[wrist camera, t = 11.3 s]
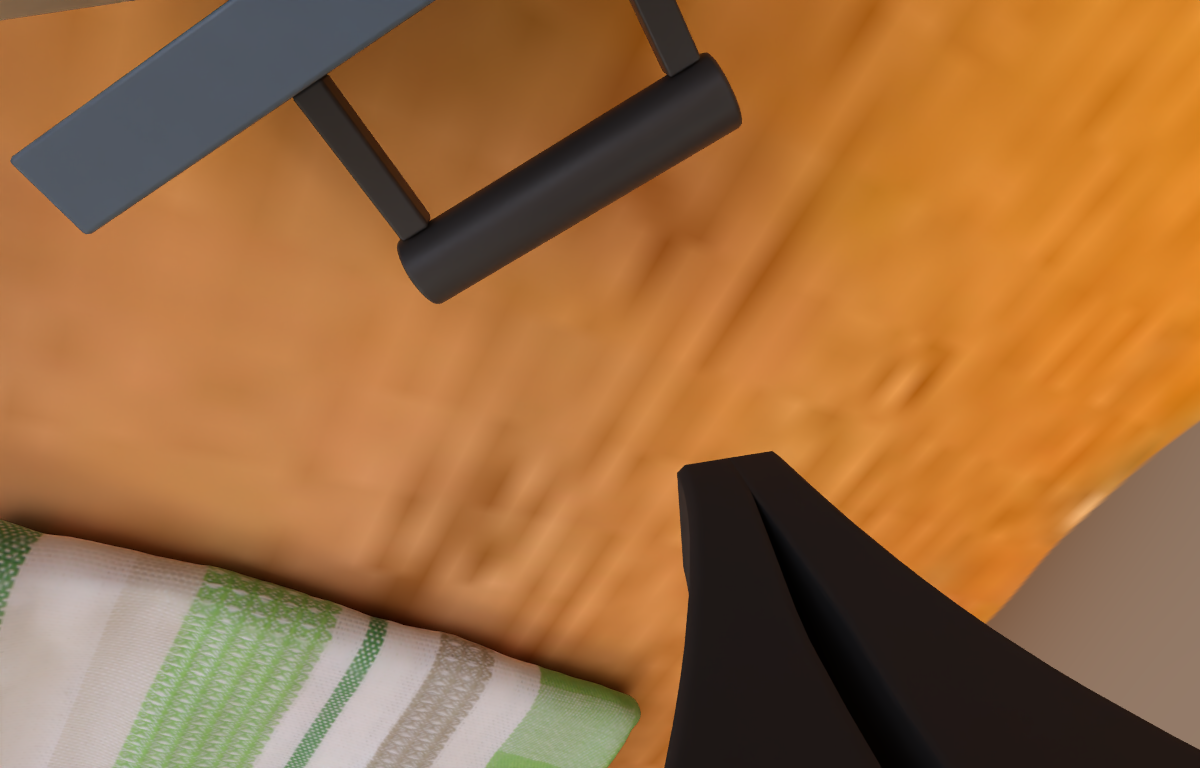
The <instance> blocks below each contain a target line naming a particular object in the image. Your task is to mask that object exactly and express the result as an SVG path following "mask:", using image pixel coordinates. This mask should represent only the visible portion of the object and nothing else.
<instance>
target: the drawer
mask: <svg viewBox="0 0 1200 768" xmlns="http://www.w3.org/2000/svg"><path fill="white" fill-rule="evenodd" d="M127 1H134V0H0V20H7V19H13V18H20V17H27V16H33V15H40V14H47V13H53V12H60V11H67V10H73V9H80V8H87V7H94V6H100V5H107V4H114V3H120V2H127ZM434 1H435V0H229V1H227V2H226V3H225V4H223V5H222V6H220V7H219V8H218V9H216V10H215V11H213V12H212V13H211V14H209V15H208V16H207V17H205V18H204V19H202V20H201V21H200V22H198V23H197V24H195V25H194V26H193V27H191V28H190V29H188V30H187V31H186V32H184V33H183V34H182V35H180V36H179V37H177V38H176V39H175V40H173V41H172V42H170V43H169V44H168V45H166V46H165V47H163V48H162V49H161V50H159V51H158V52H157V53H155V54H154V55H152V56H151V57H150V58H148V59H147V60H145V61H144V62H143V63H141V64H140V65H138V66H137V67H136V68H134V69H133V70H132V71H130V72H129V73H127V74H126V75H125V76H123V77H122V78H120V79H119V80H118V81H116V82H115V83H114V84H112V85H111V86H109V87H108V88H107V89H105V90H104V91H102V92H101V93H100V94H98V95H97V96H95V97H94V98H93V99H91V100H90V101H89V102H87V103H86V104H84V105H83V106H82V107H80V108H79V109H77V110H76V111H75V112H73V113H72V114H70V115H69V116H68V117H66V118H65V119H64V120H62V121H61V122H59V123H58V124H57V125H55V126H54V127H52V128H51V129H50V130H48V131H47V132H46V133H44V134H43V135H41V136H40V137H39V138H37V139H36V140H34V141H33V142H32V143H30V144H29V145H27V146H26V147H25V148H23V149H22V150H21V151H19V152H18V153H16V154H15V155H14V156H12V158H11V160H10V161H11V163H12V164H13V165H14V166H15V167H16V168H17V169H18V170H19V171H20V172H21V173H22V174H23V175H24V176H25V177H26V178H27V179H28V180H29V181H30V182H31V183H32V184H33V185H34V186H35V187H36V188H37V189H38V190H39V191H41V192H42V193H43V194H44V195H45V196H46V197H47V198H48V199H49V200H50V201H51V202H52V203H53V204H54V205H55V206H56V207H57V208H58V209H59V210H60V211H61V212H62V213H63V214H64V215H65V216H66V217H67V218H68V219H70V220H71V221H72V222H73V223H74V224H75V225H76V226H77V227H78V228H79V229H80V230H81V231H82V232H83V233H85V234H91V233H93V232H95V231H96V230H97V229H99V228H100V227H102V226H103V225H105V224H106V223H108V222H109V221H111V220H112V219H114V218H115V217H117V216H118V215H120V214H121V213H123V212H124V211H126V210H127V209H128V208H130V207H131V206H133V205H134V204H136V203H137V202H139V201H140V200H142V199H143V198H145V197H146V196H148V195H149V194H151V193H152V192H154V191H155V190H156V189H158V188H159V187H161V186H162V185H164V184H165V183H167V182H168V181H170V180H171V179H173V178H174V177H176V176H177V175H179V174H180V173H182V172H183V171H184V170H186V169H187V168H189V167H190V166H192V165H193V164H195V163H196V162H198V161H199V160H201V159H202V158H204V157H205V156H207V155H208V154H210V153H211V152H212V151H214V150H215V149H217V148H218V147H220V146H221V145H223V144H224V143H226V142H227V141H229V140H230V139H232V138H233V137H235V136H236V135H238V134H239V133H240V132H242V131H243V130H245V129H246V128H248V127H249V126H251V125H252V124H254V123H255V122H257V121H258V120H260V119H261V118H263V117H264V116H266V115H267V114H268V113H270V112H271V111H273V110H274V109H276V108H277V107H279V106H280V105H282V104H283V103H285V102H286V101H288V100H289V99H291V98H292V97H293V99H294V101H295V102H296V104H297V105H298V106H299V108H300V109H301V110H302V112H303V113H304V114H305V115H306V117H307V118H308V119H309V121H310V122H311V123H312V125H313V126H314V127H315V128H316V130H317V131H318V132H319V134H320V135H321V136H322V138H323V139H324V140H325V141H326V143H327V144H328V145H329V147H330V148H331V149H332V151H333V152H334V153H335V154H336V156H337V157H338V158H339V160H340V161H341V162H342V164H343V165H344V166H345V167H346V169H347V170H348V171H349V173H350V174H351V175H352V177H353V178H354V179H355V181H356V182H357V183H358V184H359V186H360V187H361V188H362V190H363V191H364V192H365V194H366V195H367V196H368V197H369V199H370V200H371V201H372V203H373V204H374V205H375V207H376V208H377V209H378V210H379V212H380V213H381V214H382V216H383V217H384V218H385V220H386V221H387V222H388V223H389V225H390V226H391V227H392V229H393V230H394V231H395V233H396V234H397V235H398V236H399V238H400V241H399V242H398V244H397V251H398V255H399V258H400V260H401V263H402V265H403V267H404V269H405V271H406V273H407V275H408V276H409V278H410V279H411V281H412V282H413V284H414V285H415V286H416V288H417V289H418V290H419V291H420V292H421V293H422V294H423V295H424V296H425V297H426V298H427V299H428V300H430V301H431V302H433V303H435V304H440V303H443V302H445V301H447V300H448V299H450V298H452V297H453V296H455V295H457V294H458V293H460V292H462V291H463V290H465V289H467V288H469V287H470V286H472V285H474V284H475V283H477V282H479V281H480V280H482V279H484V278H485V277H487V276H489V275H491V274H492V273H494V272H496V271H497V270H499V269H501V268H502V267H504V266H506V265H507V264H509V263H511V262H513V261H514V260H516V259H518V258H519V257H521V256H523V255H524V254H526V253H528V252H529V251H531V250H533V249H534V248H536V247H538V246H540V245H541V244H543V243H545V242H546V241H548V240H550V239H551V238H553V237H555V236H556V235H558V234H560V233H562V232H563V231H565V230H567V229H568V228H570V227H572V226H573V225H575V224H577V223H578V222H580V221H582V220H583V219H585V218H587V217H589V216H590V215H592V214H594V213H595V212H597V211H599V210H600V209H602V208H604V207H605V206H607V205H609V204H611V203H612V202H614V201H616V200H617V199H619V198H621V197H622V196H624V195H626V194H627V193H629V192H631V191H633V190H634V189H636V188H638V187H639V186H641V185H643V184H644V183H646V182H648V181H649V180H651V179H653V178H654V177H656V176H658V175H660V174H661V173H663V172H665V171H666V170H668V169H670V168H671V167H673V166H675V165H676V164H678V163H680V162H682V161H683V160H685V159H687V158H688V157H690V156H692V155H693V154H695V153H697V152H698V151H700V150H702V149H704V148H705V147H707V146H709V145H710V144H712V143H714V142H715V141H717V140H719V139H720V138H722V137H724V136H725V135H727V134H729V133H731V132H732V131H734V130H736V129H737V128H739V127H740V125H741V124H742V117H741V112H740V108H739V105H738V102H737V100H736V97H735V95H734V92H733V90H732V88H731V86H730V84H729V82H728V80H727V78H726V76H725V74H724V73H723V71H722V69H721V68H720V66H719V65H718V63H717V62H716V60H715V59H714V58H713V57H712V56H711V55H710V54H709V53H707V52H706V53H702V54H700V55H699V52H698V50H697V48H696V46H695V43H694V41H693V39H692V37H691V34H690V32H689V30H688V27H687V25H686V23H685V21H684V18H683V16H682V14H681V12H680V9H679V7H678V5H677V3H676V0H629V1H630V3H631V5H632V7H633V9H634V11H635V13H636V16H637V18H638V20H639V22H640V24H641V26H642V28H643V30H644V32H645V35H646V37H647V39H648V41H649V43H650V45H651V47H652V49H653V51H654V54H655V56H656V58H657V60H658V62H659V64H660V66H661V68H662V70H663V72H664V73H666V74H667V75H666V76H664V77H663V78H661V79H659V80H658V81H656V82H655V83H653V84H651V85H650V86H648V87H646V88H645V89H643V90H642V91H640V92H638V93H637V94H635V95H633V96H632V97H630V98H629V99H627V100H625V101H624V102H622V103H620V104H619V105H617V106H616V107H614V108H612V109H611V110H609V111H608V112H606V113H604V114H603V115H601V116H599V117H598V118H596V119H595V120H593V121H591V122H590V123H588V124H586V125H585V126H583V127H582V128H580V129H578V130H577V131H575V132H573V133H572V134H570V135H569V136H567V137H565V138H564V139H562V140H561V141H559V142H557V143H556V144H554V145H552V146H551V147H549V148H548V149H546V150H544V151H543V152H541V153H539V154H538V155H536V156H535V157H533V158H531V159H530V160H528V161H526V162H525V163H523V164H522V165H520V166H518V167H517V168H515V169H513V170H512V171H510V172H509V173H507V174H505V175H504V176H502V177H501V178H499V179H497V180H496V181H494V182H492V183H491V184H489V185H488V186H486V187H484V188H483V189H481V190H479V191H478V192H476V193H475V194H473V195H471V196H470V197H468V198H466V199H465V200H463V201H462V202H460V203H458V204H457V205H455V206H454V207H452V208H450V209H449V210H447V211H445V212H444V213H442V214H441V215H439V216H437V217H436V218H434V219H432V220H431V221H430V214H429V212H428V211H427V210H426V208H425V207H424V206H423V204H422V203H421V201H420V200H419V199H418V197H417V196H416V195H415V193H414V192H413V190H412V189H411V188H410V186H409V185H408V184H407V182H406V181H405V179H404V178H403V177H402V175H401V174H400V173H399V171H398V170H397V168H396V167H395V166H394V164H393V163H392V162H391V160H390V159H389V157H388V156H387V155H386V153H385V152H384V151H383V149H382V148H381V146H380V145H379V144H378V142H377V141H376V140H375V138H374V137H373V135H372V134H371V133H370V131H369V130H368V129H367V127H366V126H365V124H364V123H363V122H362V120H361V119H360V118H359V116H358V115H357V113H356V112H355V111H354V109H353V108H352V107H351V105H350V104H349V102H348V101H347V100H346V98H345V97H344V96H343V94H342V93H341V91H340V90H339V89H338V87H337V86H336V85H335V83H334V82H333V80H332V79H331V78H330V76H328V75H327V73H329V72H330V71H332V70H333V69H335V68H336V67H338V66H339V65H341V64H342V63H344V62H345V61H347V60H348V59H350V58H351V57H352V56H354V55H355V54H357V53H358V52H360V51H361V50H363V49H364V48H366V47H367V46H369V45H370V44H372V43H373V42H375V41H376V40H378V39H379V38H380V37H382V36H383V35H385V34H386V33H388V32H389V31H391V30H392V29H394V28H395V27H397V26H398V25H400V24H401V23H403V22H404V21H406V20H407V19H409V18H410V17H411V16H413V15H414V14H416V13H417V12H419V11H420V10H422V9H423V8H425V7H426V6H428V5H429V4H431V3H432V2H434Z"/></svg>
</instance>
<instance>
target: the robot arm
mask: <svg viewBox="0 0 1200 768" xmlns="http://www.w3.org/2000/svg"><path fill="white" fill-rule="evenodd" d="M677 478H678V493H679V508H680V523H681V538H682V553H683V567H684V572H685V576H686V581H687V586H688V592H689V600H688V612H687V623H686V635H685V646H684V654H683V662H682V670H681V677H680V684H679V691H678V697H677V703H676V709H675V715H674V721H673V727H672V732H671V737H670V742H669V747H668V752H667V757H666V762H665V767H664V768H1200V750H1199V749H1197V748H1195V747H1193V746H1191V745H1189V744H1188V743H1186V742H1184V741H1182V740H1180V739H1178V738H1176V737H1174V736H1172V735H1171V734H1169V733H1167V732H1165V731H1163V730H1162V729H1160V728H1158V727H1156V726H1154V725H1153V724H1151V723H1149V722H1147V721H1145V720H1144V719H1141V718H1140V717H1138V716H1136V715H1135V714H1133V713H1131V712H1129V711H1127V710H1126V709H1124V708H1122V707H1120V706H1118V705H1117V704H1115V703H1113V702H1111V701H1109V700H1108V699H1106V698H1104V697H1102V696H1100V695H1099V694H1097V693H1095V692H1093V691H1091V690H1090V689H1088V688H1086V687H1084V686H1083V685H1081V684H1080V683H1078V682H1076V681H1074V680H1073V679H1071V678H1069V677H1068V676H1066V675H1064V674H1063V673H1061V672H1059V671H1058V670H1056V669H1054V668H1053V667H1051V666H1049V665H1048V664H1046V663H1045V662H1043V661H1041V660H1040V659H1039V658H1037V657H1035V656H1034V655H1032V654H1031V653H1029V652H1027V651H1026V650H1024V649H1023V648H1021V647H1020V646H1018V645H1017V644H1015V643H1013V642H1012V641H1010V640H1009V639H1007V638H1005V637H1004V636H1003V635H1001V634H1000V633H998V632H996V631H995V630H993V629H992V628H990V627H989V626H988V625H986V624H985V623H983V622H982V621H980V620H979V619H977V618H976V617H975V616H973V615H972V614H970V613H969V612H967V611H966V610H965V609H963V608H962V607H960V606H959V605H958V604H956V603H955V602H953V601H952V600H951V599H949V598H948V597H947V596H945V595H944V594H943V593H941V592H940V591H939V590H937V589H936V588H935V587H933V586H932V585H931V584H929V583H928V582H926V581H925V580H924V579H922V578H921V577H920V576H919V575H917V574H916V573H915V572H913V571H912V570H911V569H910V568H908V567H907V566H906V565H904V564H903V563H902V562H901V561H899V560H898V559H897V558H896V557H894V556H893V555H892V554H891V553H889V552H888V551H887V550H886V549H885V548H883V547H882V546H881V545H880V544H878V543H877V542H876V541H875V540H874V539H872V538H871V537H870V536H869V535H867V534H866V533H865V532H864V531H863V530H861V529H860V528H859V527H858V526H857V525H855V524H854V523H853V522H852V521H851V520H850V519H848V518H847V517H846V516H845V515H844V514H843V513H841V512H840V511H839V510H838V509H837V508H836V507H835V506H834V505H832V504H831V503H830V502H829V501H828V500H827V499H826V498H824V497H823V496H822V495H821V494H820V493H819V492H818V491H817V490H816V489H814V488H813V487H812V486H811V485H810V484H809V483H808V482H807V481H806V480H805V479H803V478H802V477H801V476H800V475H799V474H798V473H797V472H796V471H795V470H794V469H793V468H791V467H790V466H789V465H788V464H787V463H786V462H785V461H784V460H783V459H782V458H781V457H779V456H778V455H777V454H775V453H774V452H773V451H770V452H764V453H757V454H751V455H745V456H739V457H732V458H726V459H720V460H714V461H707V462H701V463H695V464H689V465H685V466H684V467H683V468H682V469H681V470H680V471H679V472H678V473H677Z"/></svg>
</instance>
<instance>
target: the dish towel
mask: <svg viewBox="0 0 1200 768" xmlns="http://www.w3.org/2000/svg"><path fill="white" fill-rule="evenodd" d="M640 715H641V712H640V708H639V706H638V703H637V702H636V701H635V699H634V698H632V697H631V696H630V695H627V694H624V693H621V692H618V691H615V690H612V689H609V688H607V687H605V686H603V685H599V684H596V683H593V682H589V681H586V680H582V679H578V678H574V677H571V676H568V675H565V674H563V673H560V672H556V671H553V670H549V669H546V668H543V667H541V666H538V665H535V664H531V663H527V662H524V661H520V660H517V659H514V658H511V657H508V656H505V655H503V654H500V653H498V652H496V651H494V650H492V649H489V648H486V647H484V646H482V645H480V644H477V643H474V642H471V641H468V640H465V639H463V638H461V637H458V636H456V635H452V634H447V633H444V632H440V631H432V630H427V629H422V628H416V627H411V626H405V625H402V624H399V623H396V622H393V621H389V620H385V619H380V618H376V617H371V616H369V615H366V614H363V613H361V612H359V611H356V610H353V609H350V608H348V607H345V606H343V605H340V604H337V603H334V602H331V601H329V600H323V599H320V598H316V597H312V596H309V595H307V594H306V593H302V592H299V591H297V590H294V589H290V588H286V587H283V586H280V585H277V584H274V583H271V582H266V581H261V580H259V579H256V578H253V577H249V576H246V575H242V574H239V573H237V572H234V571H230V570H227V569H223V568H219V567H214V566H209V565H199V564H194V563H189V562H183V561H179V560H174V559H170V558H165V557H160V556H154V555H151V554H147V553H143V552H139V551H136V550H131V549H126V548H121V547H116V546H112V545H107V544H103V543H98V542H94V541H89V540H84V539H79V538H74V537H68V536H59V535H50V534H44V533H41V532H38V531H34V530H31V529H29V528H26V527H23V526H20V525H17V524H14V523H11V522H8V521H4V520H1V519H0V768H607V767H608V766H609V765H610V763H611V762H612V761H613V759H614V758H615V757H616V755H617V754H618V752H619V751H620V749H621V748H622V746H623V745H624V743H625V741H626V739H627V738H628V736H629V734H630V732H631V730H632V729H633V727H634V726H635V725H636V724H637V723H638V721H639V719H640Z"/></svg>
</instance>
